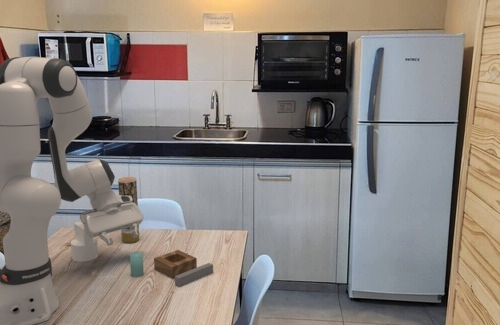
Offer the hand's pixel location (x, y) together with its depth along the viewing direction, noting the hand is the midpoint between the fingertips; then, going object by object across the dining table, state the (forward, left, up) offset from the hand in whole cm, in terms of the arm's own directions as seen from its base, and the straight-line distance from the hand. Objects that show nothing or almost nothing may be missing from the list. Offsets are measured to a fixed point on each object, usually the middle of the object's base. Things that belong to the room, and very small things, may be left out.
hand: (123, 240), depth 156 cm
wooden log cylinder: (+16, +22, -11) cm, 30 cm away
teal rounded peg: (0, -8, -11) cm, 13 cm away
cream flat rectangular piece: (+11, -15, -11) cm, 21 cm away
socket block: (+11, -14, -10) cm, 20 cm away
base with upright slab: (-4, +20, -11) cm, 24 cm away
